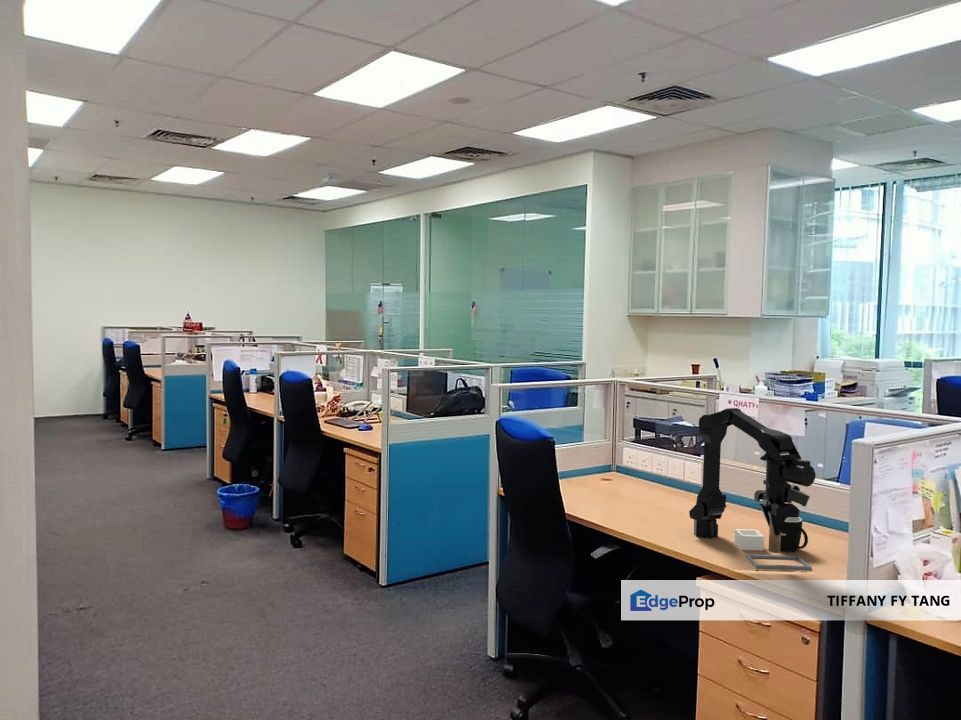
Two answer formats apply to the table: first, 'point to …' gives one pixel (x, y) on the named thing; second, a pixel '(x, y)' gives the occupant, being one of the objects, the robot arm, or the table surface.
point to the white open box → (749, 539)
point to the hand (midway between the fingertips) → (774, 533)
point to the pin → (774, 541)
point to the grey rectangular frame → (805, 567)
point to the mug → (792, 535)
